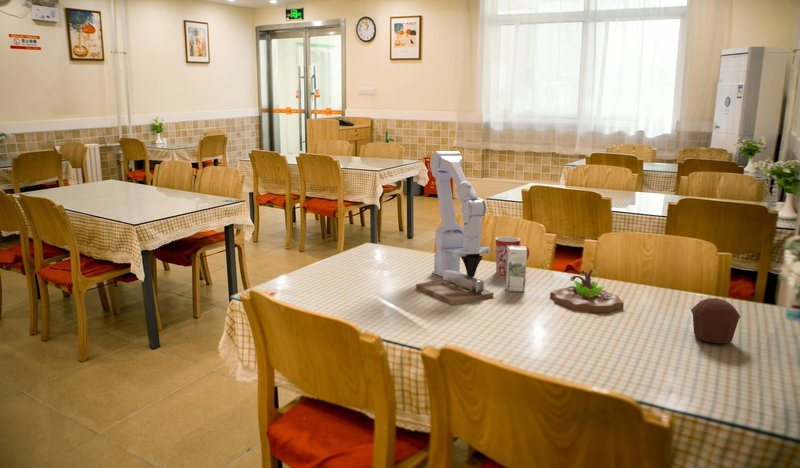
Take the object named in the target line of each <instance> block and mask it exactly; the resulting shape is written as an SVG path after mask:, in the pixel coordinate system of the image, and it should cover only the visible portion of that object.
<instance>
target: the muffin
mask: <svg viewBox="0 0 800 468" xmlns="http://www.w3.org/2000/svg"><path fill="white" fill-rule="evenodd" d="M690 312H691V314H692V326H693V327H692V328H693V334H694V337H695V338H698V339H699V340H702V341H703V342H709V343H713V344H727V343H732V341H733V338H734V336H735V332H736V329H737V326H738V323H739V319H740V318H741V317H742V316H741V315H740V314H739V311H738V310H737V309H736V308H735V306H734V305H732V304H731V303H730V302H728V301H727V300H725V299H724V300H723V299H720V298H714V297H711V298H704V299H702V300H700V301H699V302H698V303H696V304H695V305H694V306H693V307H692V308H691V309H690Z"/></svg>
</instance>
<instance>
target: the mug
mask: <svg viewBox="0 0 800 468" xmlns="http://www.w3.org/2000/svg"><path fill="white" fill-rule="evenodd" d="M520 242H521V238H520V237H516V236H497V237H495V262H496V263H495V266H496V267H495V269H496V270H495V272H496V274H497V275H499V276H504V277H506V274H507V256H508V246H525V247H526V249H527V260H528V259H529V257H530V249H529V247H528V246H527V245H524V244H522V245H520V244H521V243H520Z"/></svg>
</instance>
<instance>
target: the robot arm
mask: <svg viewBox="0 0 800 468" xmlns="http://www.w3.org/2000/svg"><path fill="white" fill-rule="evenodd" d="M429 163H430V172H431V176H432V177H434V180H435V184H436V194H437V200H438V207H439V213H440V220H441V224H440V225H439V226H438V227H437V228H436V230H435V233H434V234H435V238H434V243H435V246H436V248H437V250H436V251H435V253H434V257H433V259H434V261H433V271H431V273H432V274H434V275H437V276H440V277H442V278H443V270H449V269H451V270H454V271H457V272H460V273H461V259H462V262H463V264H464V267H465V270H466V271H465V272H466V275H468V276H471V277H473V278H475V276H476V273H477V270H478V269H477V268H478V266H479V264H480V263H481V261H482V259H483V255H482V254H491V247H490V246H481V245H482V224H483V217H485V215H486V212H487V205H486V202H485V200H484V199H483V198H481V197H480V196H478V195H477V193H476V191H475V189H474V186H473V184H472V183H471V182H470V181H467V179H466V178H467V177H466V176H465V174H464V171H463V168H462V166H463V165H462V164H463V157H462V154H461V152H460V151H459V150H454V151H453V150H451V151H450V150H448V151H447V150H444V151H443V150H434V151H433V152H432V153H431V155H430V160H429ZM451 179H452V180H453V182H454V184H455V185H456V188H455V192H456V195H457V197H458V200H459V201H460V203H461V208H460V210H461V211H460V212H461V215H462V222H463V226H462V225H461V224H459V223H457V219H456V213H455V207H454V200H453V192H452V185H451Z"/></svg>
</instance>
